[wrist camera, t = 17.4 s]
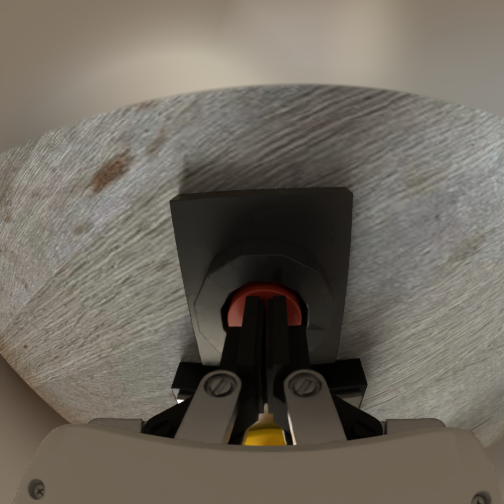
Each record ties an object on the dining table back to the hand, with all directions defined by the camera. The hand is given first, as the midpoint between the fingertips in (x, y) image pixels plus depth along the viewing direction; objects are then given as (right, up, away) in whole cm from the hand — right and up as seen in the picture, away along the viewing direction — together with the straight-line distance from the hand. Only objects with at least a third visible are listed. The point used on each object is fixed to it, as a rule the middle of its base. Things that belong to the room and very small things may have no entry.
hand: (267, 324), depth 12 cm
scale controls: (0, +1, +3) cm, 3 cm away
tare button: (0, +1, +2) cm, 2 cm away
